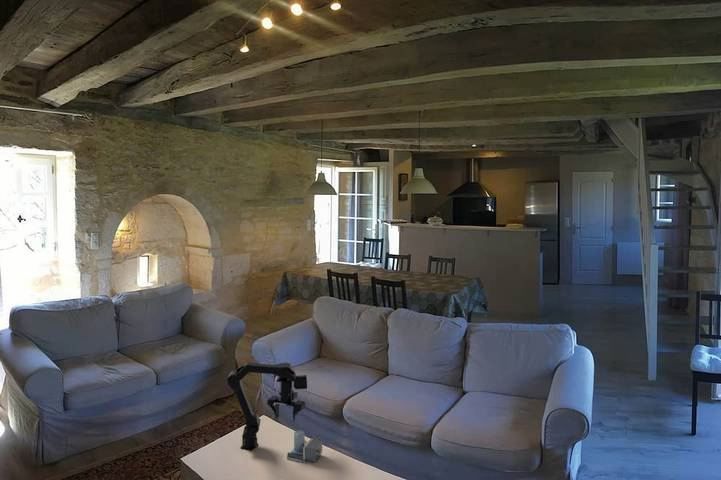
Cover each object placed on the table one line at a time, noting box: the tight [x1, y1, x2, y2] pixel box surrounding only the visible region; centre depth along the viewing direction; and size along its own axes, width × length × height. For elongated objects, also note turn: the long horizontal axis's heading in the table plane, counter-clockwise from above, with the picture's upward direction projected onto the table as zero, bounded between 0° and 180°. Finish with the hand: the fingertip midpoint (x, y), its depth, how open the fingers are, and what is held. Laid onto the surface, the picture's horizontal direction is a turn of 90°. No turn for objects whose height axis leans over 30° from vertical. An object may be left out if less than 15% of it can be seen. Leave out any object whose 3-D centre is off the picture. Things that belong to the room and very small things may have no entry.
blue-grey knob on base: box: [290, 429, 308, 455], centre depth 234 cm, size 6×6×10 cm
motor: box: [286, 437, 323, 463], centre depth 233 cm, size 15×11×7 cm
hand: (286, 419), depth 242 cm, fingers open, 9 cm apart
